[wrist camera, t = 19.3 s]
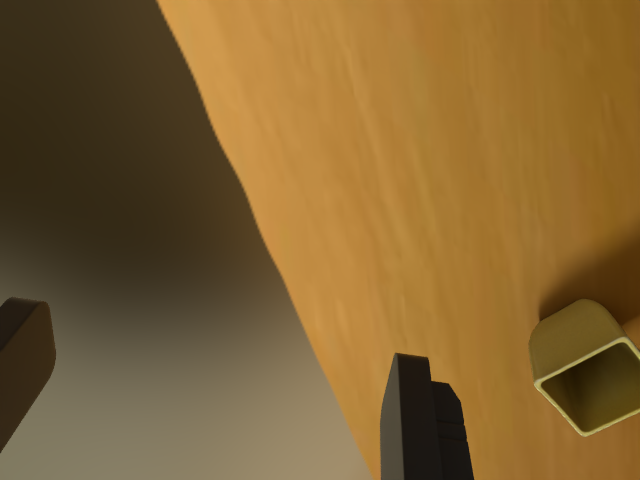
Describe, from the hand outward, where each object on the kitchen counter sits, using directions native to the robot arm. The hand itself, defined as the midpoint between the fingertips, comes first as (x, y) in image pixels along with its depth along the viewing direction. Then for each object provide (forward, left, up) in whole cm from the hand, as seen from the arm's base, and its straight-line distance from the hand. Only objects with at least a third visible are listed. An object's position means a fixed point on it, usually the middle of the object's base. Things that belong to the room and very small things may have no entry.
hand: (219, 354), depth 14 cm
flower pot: (-28, +25, -38) cm, 54 cm away
